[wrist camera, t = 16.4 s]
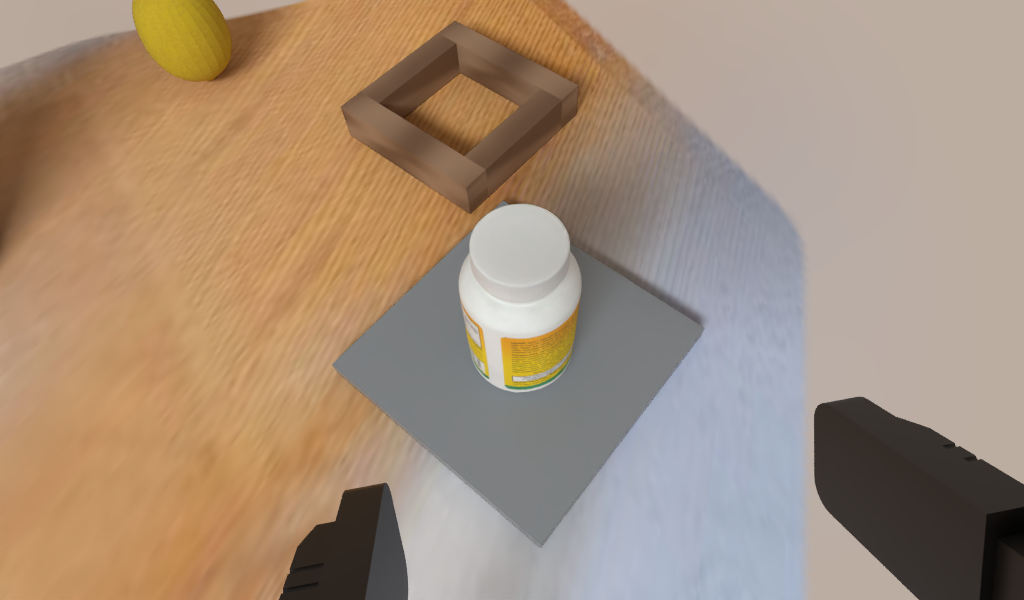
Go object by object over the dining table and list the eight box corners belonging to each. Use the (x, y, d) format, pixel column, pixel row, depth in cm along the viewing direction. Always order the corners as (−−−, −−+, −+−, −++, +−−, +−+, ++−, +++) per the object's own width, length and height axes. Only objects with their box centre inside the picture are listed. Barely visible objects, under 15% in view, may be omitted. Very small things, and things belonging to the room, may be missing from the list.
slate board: (337, 372, 33) (331, 364, 32) (504, 210, 38) (503, 200, 37) (540, 548, 28) (540, 544, 27) (700, 336, 33) (704, 328, 33)
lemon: (178, 59, 47) (116, -45, 40) (251, 50, 47) (202, -55, 40) (168, 110, 44) (100, 8, 37) (246, 100, 44) (193, -4, 37)
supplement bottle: (452, 367, 32) (423, 266, 24) (501, 289, 34) (491, 171, 26) (544, 414, 30) (548, 323, 22) (590, 328, 33) (609, 218, 24)
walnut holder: (350, 134, 42) (340, 106, 40) (458, 50, 46) (454, 20, 44) (470, 214, 38) (466, 187, 36) (576, 114, 42) (578, 85, 40)
